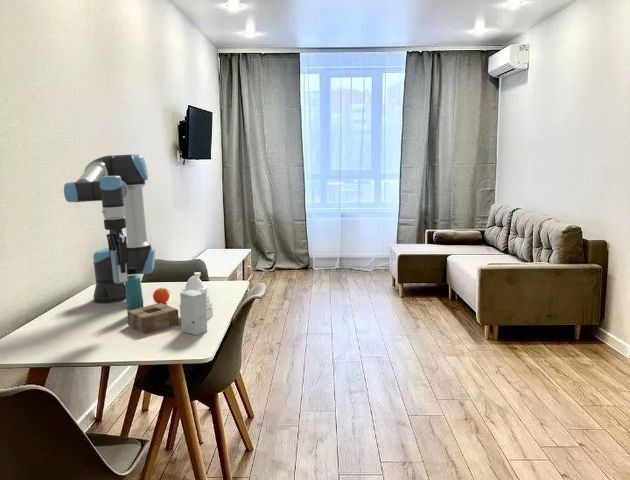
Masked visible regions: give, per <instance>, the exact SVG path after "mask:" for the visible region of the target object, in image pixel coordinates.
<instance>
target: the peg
mask: <svg viewBox="0 0 630 480" xmlns="http://www.w3.org/2000/svg"><path fill="white" fill-rule="evenodd" d="M110 253H111V262H112V272H113V281H114V282H115V283H117V284H119V283H124V284H125V282H128V276H129V275H127V281H123V282H119V273H118V265H117V263H118V257H117V251H116V250H111V251H110ZM126 273H127V265H126Z"/></svg>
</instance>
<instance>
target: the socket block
mask: <svg viewBox="0 0 630 480" xmlns="http://www.w3.org/2000/svg"><path fill="white" fill-rule="evenodd" d="M126 313H127V314H126V315H127V321H128V322H127V323H128V327H130V328H132V329H134V330H136V331H138V332H140V333H143V334H144V335H146V334H149V333H153V332H157V331H161V330H164V329H169V328H172V326H173V327H177V326H180V316H179V315H180V314H179V309H177V308H175V307H173V306H170V305H167V304H166V303H164V304H162V303H159V304H158V303H156V304H155V303H154V304H152V305H147V306H144V307H142V308H137V309H133V310H129V311H127V310H126Z"/></svg>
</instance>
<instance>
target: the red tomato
mask: <svg viewBox="0 0 630 480" xmlns="http://www.w3.org/2000/svg"><path fill="white" fill-rule="evenodd" d="M169 292H170V293H171V291H170V290H169V289H168V288H165V287H159V288H157V289H156V290H154V292H153V294H152V298H153V301H154V302H155V303H156V304H159V303H162V304H166V303H167V302H168V301H169V299H170V293H169Z"/></svg>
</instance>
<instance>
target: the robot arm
mask: <svg viewBox="0 0 630 480" xmlns="http://www.w3.org/2000/svg"><path fill="white" fill-rule="evenodd" d="M148 180H149V174H148V168H147V164H146V161H145V158H144V157H143V155H141V154H132V153H131V154H118V155H114V154H113V155H110V154H109V155H103V156H101V157H99V158H98V157H97V158H96V159H93V160H92V161H90V162H89V163H88V164H87V165H86V166H85V168H84V172H83V173H82V175H81V176H79V178H78V179H77V180H76V181H70V182H66V183H65V184H64V185H63V195H64V199H65V201H66V202H68V203H76V204H77V203H85V202H86V203H87V202H101V205H102V206H101V207H102V210H101V213H102V215H103V216H102V217H103V219H104V220H103V224H104V225H103V226H104V230H106V231H109V233H106V239H107V245H108V247H105V248H103V249H100V250H97V251H95V252H94V253H93V256H92V259H93V268H94V277H95V288H94V293H93V302H95V303H99V304H103V303H104V304H109V303H110V304H111V303H116V302H120V301H124V300H126V289H125V282H124V283H119V284H117V283H115V282H114V281H113V272H112V262H111V253H110V251H111V250H116V251H117V257H118V263H117V265H118V273H119V282H123V281H127V275H128V276H130V275H145V274H150V273H152V272H153V271H154V270H155V269H154V268H155V261H156V260H155V259H156V249H155V247H152V244H151V242H149V240H148V236H147V227H146V226H147V225H146V218H145V206H144V197H143V196H144V195H143V188H144V187H145V185H146V181H148ZM123 229H125V232H126V235H124V233H123ZM126 265H127V268H130V267H136V270H137V273H134V274H127V273H126Z"/></svg>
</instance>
